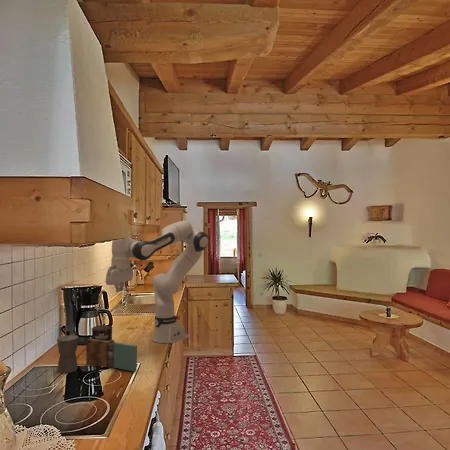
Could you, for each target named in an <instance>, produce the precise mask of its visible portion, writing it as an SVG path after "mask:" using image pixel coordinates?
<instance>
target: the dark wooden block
mask: <svg viewBox="0 0 450 450" xmlns="http://www.w3.org/2000/svg"><path fill="white" fill-rule="evenodd" d="M115 342H116V341H115V340H114V339H112V340H110V341H103V340H95V339H92V338H87V339H86V355H85V357H86V359H85V363H86V365H87V366H95V365H98V366H97V367H102V366H103V368H108V369H114V359H112V360H110V359H108V351H114V343H115Z"/></svg>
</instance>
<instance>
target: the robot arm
mask: <svg viewBox="0 0 450 450" xmlns="http://www.w3.org/2000/svg"><path fill="white" fill-rule="evenodd" d="M180 241H182V243H184V244H186V248H185V249H184V250H183V251H182V252H181V253H180V254H179V255H178V256H177V257H176V258H175V259H174V260H173V262H172V263H171V264H170V267H169V269H168V270H167V272H166V273H164V272H161V273H158V274H156V275H155V276H154V277H153V279H152V286H153V293H154V298H155V299H154V300H155V315H154V332H153V336H152V338H151V340H152V342H155V343H158V344H175V343H177V342H181V341H184V340H187V339H190V335H189V334H188V333H186V328H185V326H184V325H182V324H181V323H180V322H178V321H177V320H180V316H178V315H175V301H174V300H175V299H174V298H173V297H174V296H173V295H174V294H176V293H177V292H178V291H179V289H180V286H181V283H182V281H183V280H184V279H185V277H186V276H187V275H188V273H189V272H190V271H191V270H192V269H193V267H194V266H195V265H196V264H197V262H198V261H199V259H200V258H201V256H202V254H203V253H202V252H203V251H204V250H206V248H207V247H208V246H209V243H210V236H209V235H208V234H207V233H205V231H202V230H200V229H197V228H194V227H193V226H192V224H191V222H189V221H187V220H180V221H177V222H173V223H170V224H168V225H167V226H165V227H163V228H162V229H161V231H160V236H158V237H156V238H153V239H151V240H149V241H147V240H142V241H140V240H136V239H135V238H134V239H133V238H132V237H130V236H129V237H128V238H126V239H121V240H114V241H113V240H112V241H111V254H112V255H111V256H112V257H111V264H110V265H111V266H109V268H108V269H107V271H106V275H105V284H106V286H113V285H114V288H115V292H116V293H119V292H123V291H124V287H125V284H126V282H130V281H133V279H134V263H133V262H132V261H131V262H130V261H129V260H130V258H131V259H135V260H139V261H146V260H149V259H150V258H151V257H152V256H153V255H154V254H155V253H156V252H158V251H160V250H162V249H163V248H166V247H168V246H170V245H173V244H176V243H178V242H180Z"/></svg>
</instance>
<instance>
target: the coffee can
mask: <svg viewBox="0 0 450 450" xmlns="http://www.w3.org/2000/svg"><path fill="white" fill-rule="evenodd" d="M91 339H95V340H103V341H110V340H113V326H112V325H109V324H108V325H107V324H103V325H101V324H100V325H96V326H93V327H91Z"/></svg>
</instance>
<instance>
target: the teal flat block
mask: <svg viewBox="0 0 450 450" xmlns="http://www.w3.org/2000/svg"><path fill="white" fill-rule="evenodd" d="M137 348H138V345H137V344H136V345H135V344H130V343H123V342H117V341H115V343H114V351H108V359H110V360H112V359H114V368H115V369H119V370H124V371H130V372H134V371H135V372H137V368H138V366H137V365H138V363H137V362H138V360H137V359H138V349H137ZM114 368H113V369H114Z"/></svg>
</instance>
